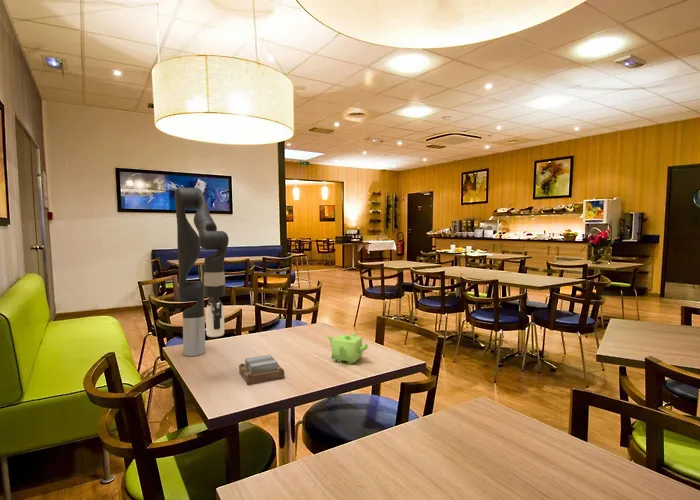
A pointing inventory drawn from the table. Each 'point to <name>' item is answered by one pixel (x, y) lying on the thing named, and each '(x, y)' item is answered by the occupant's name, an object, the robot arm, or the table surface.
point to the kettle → (347, 348)
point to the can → (210, 323)
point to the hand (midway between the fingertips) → (215, 326)
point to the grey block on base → (260, 370)
